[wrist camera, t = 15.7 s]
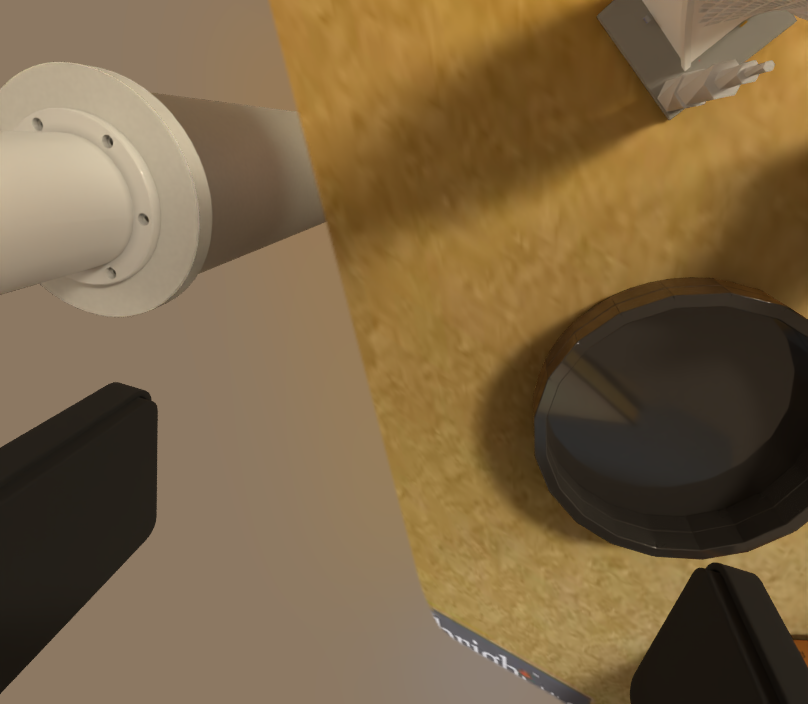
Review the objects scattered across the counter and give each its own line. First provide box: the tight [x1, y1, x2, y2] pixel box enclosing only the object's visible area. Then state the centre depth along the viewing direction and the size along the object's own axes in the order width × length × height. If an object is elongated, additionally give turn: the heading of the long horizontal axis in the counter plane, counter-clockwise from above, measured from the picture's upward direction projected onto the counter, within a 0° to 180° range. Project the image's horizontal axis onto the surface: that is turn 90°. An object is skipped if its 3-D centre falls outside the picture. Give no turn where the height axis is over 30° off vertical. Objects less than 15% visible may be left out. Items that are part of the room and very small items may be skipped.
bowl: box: [533, 277, 808, 559], centre depth 34 cm, size 19×19×4 cm
